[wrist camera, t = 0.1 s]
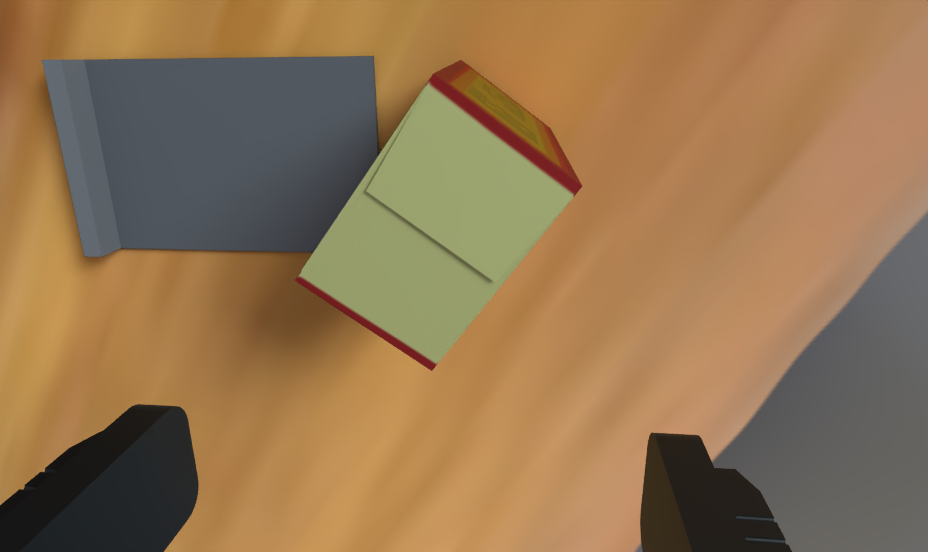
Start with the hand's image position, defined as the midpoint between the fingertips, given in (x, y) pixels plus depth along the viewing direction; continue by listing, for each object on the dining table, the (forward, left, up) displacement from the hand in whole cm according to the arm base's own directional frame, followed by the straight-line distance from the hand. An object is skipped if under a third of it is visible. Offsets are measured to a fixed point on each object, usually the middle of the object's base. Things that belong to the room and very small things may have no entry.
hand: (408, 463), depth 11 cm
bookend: (-1, -16, -29) cm, 33 cm away
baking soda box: (-1, -2, -29) cm, 29 cm away
